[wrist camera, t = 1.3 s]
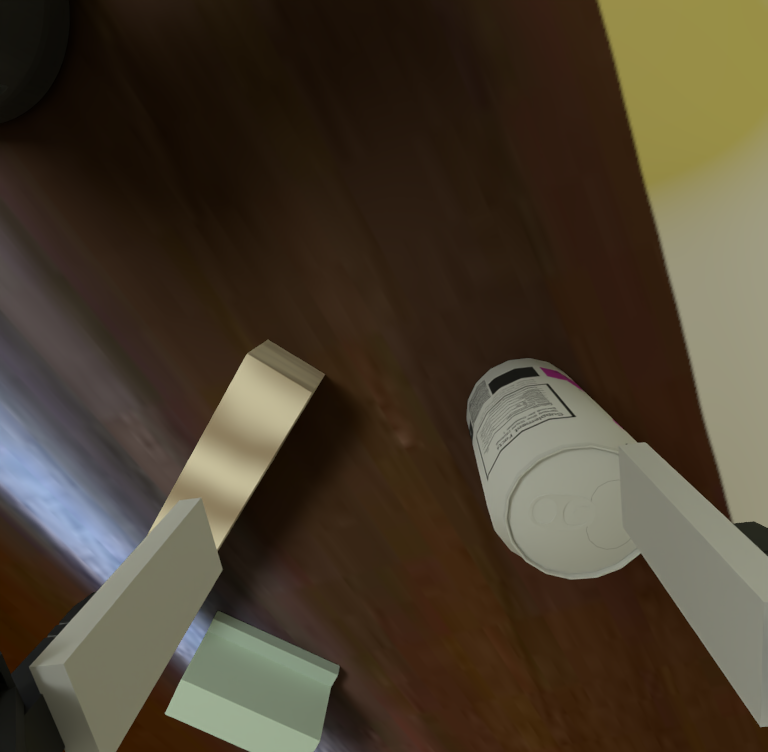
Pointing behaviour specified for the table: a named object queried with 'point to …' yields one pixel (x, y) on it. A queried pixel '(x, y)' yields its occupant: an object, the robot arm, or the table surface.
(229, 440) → the beam
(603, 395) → the table surface
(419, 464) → the table surface
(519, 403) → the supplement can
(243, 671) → the stepped block
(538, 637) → the table surface
